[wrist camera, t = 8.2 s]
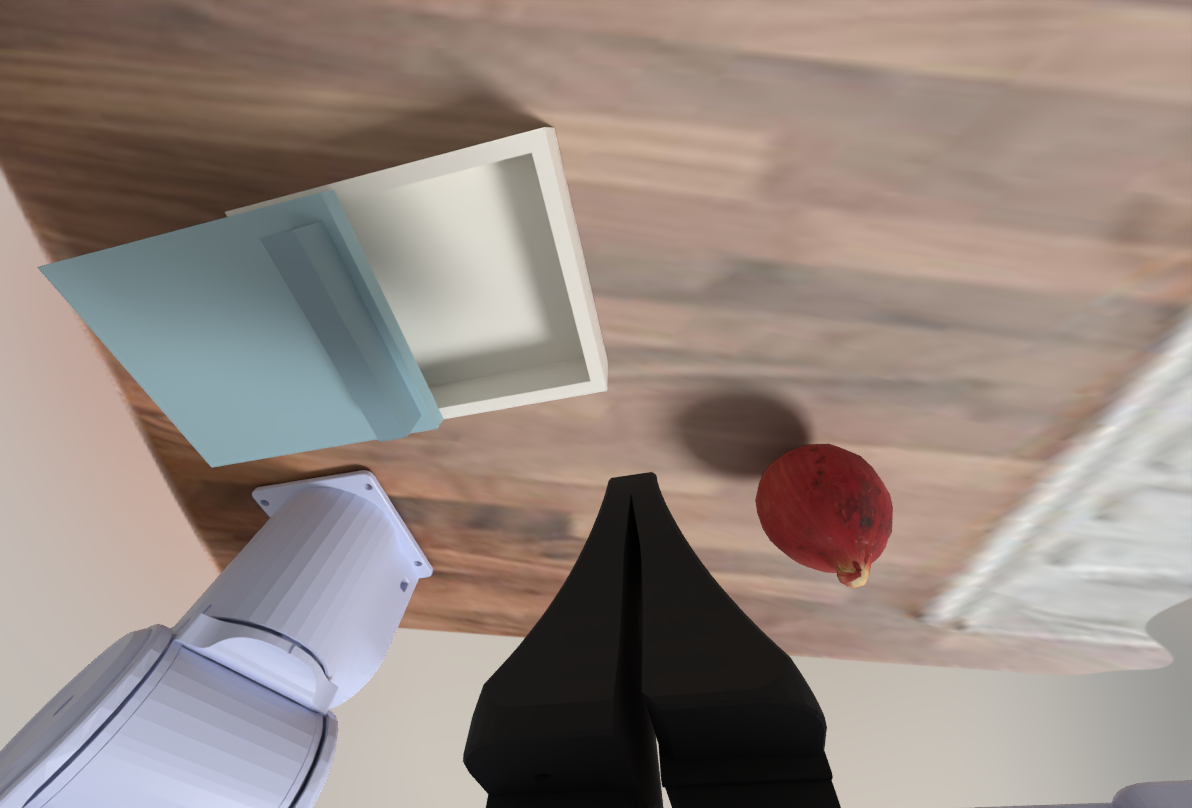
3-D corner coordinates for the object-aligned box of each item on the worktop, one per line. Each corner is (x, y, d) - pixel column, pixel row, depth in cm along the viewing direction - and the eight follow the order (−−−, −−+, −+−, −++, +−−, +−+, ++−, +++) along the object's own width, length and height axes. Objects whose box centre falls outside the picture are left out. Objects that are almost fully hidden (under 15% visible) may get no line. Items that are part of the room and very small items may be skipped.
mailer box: (607, 360, 22) (606, 390, 19) (387, 401, 23) (360, 433, 21) (554, 127, 17) (544, 127, 14) (278, 201, 18) (224, 211, 16)
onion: (779, 399, 23) (851, 513, 16) (871, 434, 24) (976, 556, 17) (721, 478, 26) (761, 603, 19) (805, 506, 27) (872, 636, 20)
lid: (443, 418, 20) (424, 451, 18) (224, 457, 22) (183, 491, 19) (333, 189, 15) (289, 198, 13) (60, 261, 17) (-17, 279, 15)
